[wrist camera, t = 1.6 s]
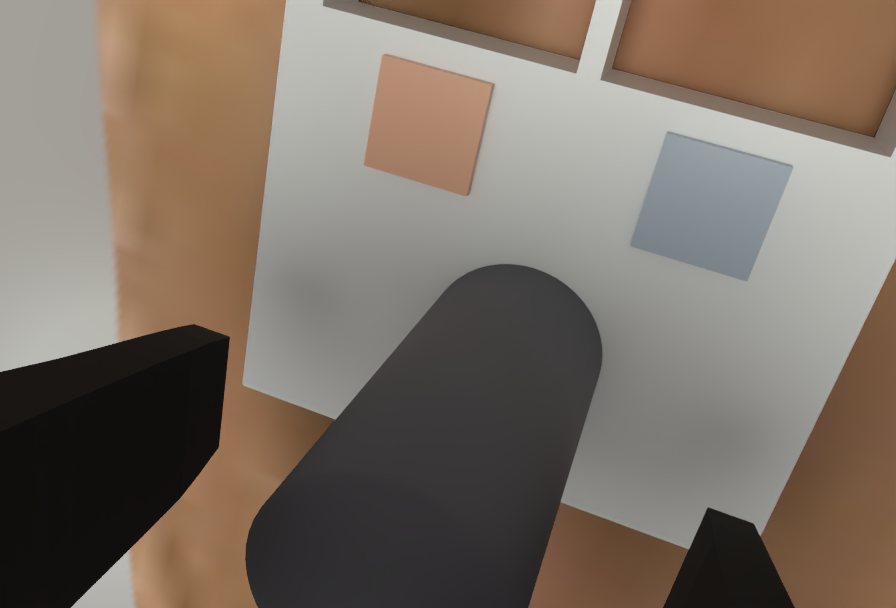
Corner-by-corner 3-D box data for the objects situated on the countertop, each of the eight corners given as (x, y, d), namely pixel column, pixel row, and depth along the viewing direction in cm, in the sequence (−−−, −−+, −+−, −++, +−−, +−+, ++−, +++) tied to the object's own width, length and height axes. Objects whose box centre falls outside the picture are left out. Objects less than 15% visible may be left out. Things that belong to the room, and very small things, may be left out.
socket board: (742, 520, 18) (744, 576, 16) (277, 354, 20) (237, 389, 18) (1106, -255, 11) (1167, -289, 10) (375, -379, 13) (327, -424, 12)
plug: (574, 449, 16) (480, 750, 10) (413, 392, 17) (233, 643, 11) (625, 297, 15) (552, 541, 9) (448, 240, 15) (260, 430, 9)
